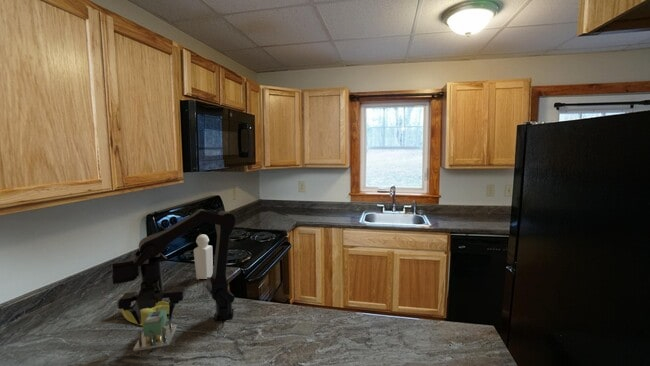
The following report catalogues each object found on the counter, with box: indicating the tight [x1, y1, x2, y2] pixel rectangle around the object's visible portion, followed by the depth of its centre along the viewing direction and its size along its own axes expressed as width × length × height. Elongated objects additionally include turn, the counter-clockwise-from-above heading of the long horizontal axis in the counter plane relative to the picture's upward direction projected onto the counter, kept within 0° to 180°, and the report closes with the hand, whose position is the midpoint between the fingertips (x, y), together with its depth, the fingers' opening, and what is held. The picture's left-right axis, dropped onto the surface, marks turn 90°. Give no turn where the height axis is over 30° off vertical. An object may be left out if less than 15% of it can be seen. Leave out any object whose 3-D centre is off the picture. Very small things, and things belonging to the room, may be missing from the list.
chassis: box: [132, 318, 178, 352], centre depth 97 cm, size 11×10×5 cm
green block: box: [142, 310, 168, 337], centre depth 97 cm, size 8×5×5 cm, turn 17°
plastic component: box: [119, 294, 169, 327], centre depth 112 cm, size 20×7×10 cm
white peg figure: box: [193, 233, 214, 280], centre depth 145 cm, size 6×6×22 cm
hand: (155, 321), depth 97 cm, fingers open, 9 cm apart
